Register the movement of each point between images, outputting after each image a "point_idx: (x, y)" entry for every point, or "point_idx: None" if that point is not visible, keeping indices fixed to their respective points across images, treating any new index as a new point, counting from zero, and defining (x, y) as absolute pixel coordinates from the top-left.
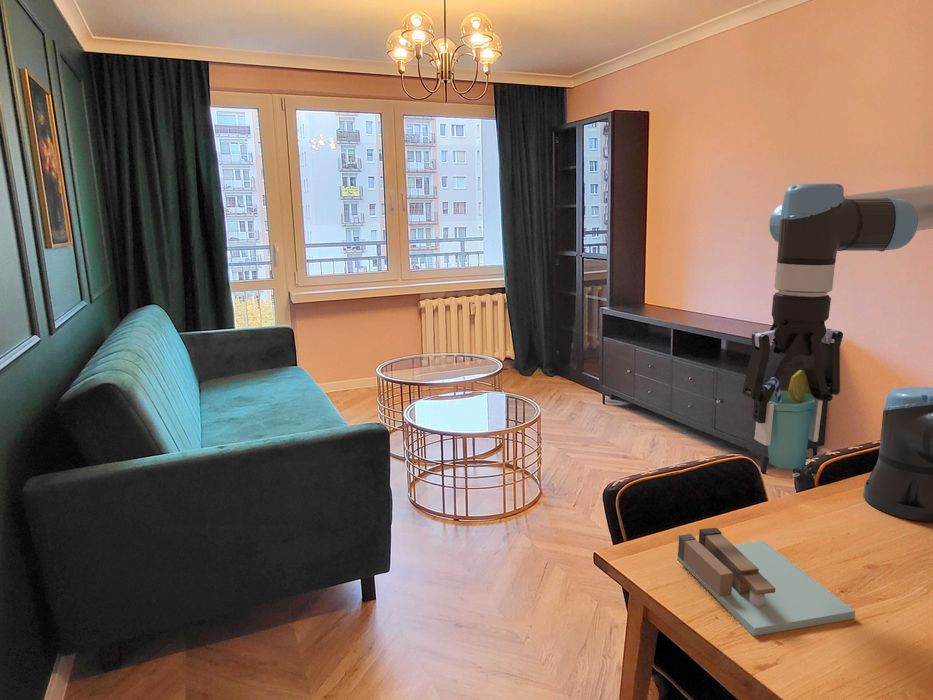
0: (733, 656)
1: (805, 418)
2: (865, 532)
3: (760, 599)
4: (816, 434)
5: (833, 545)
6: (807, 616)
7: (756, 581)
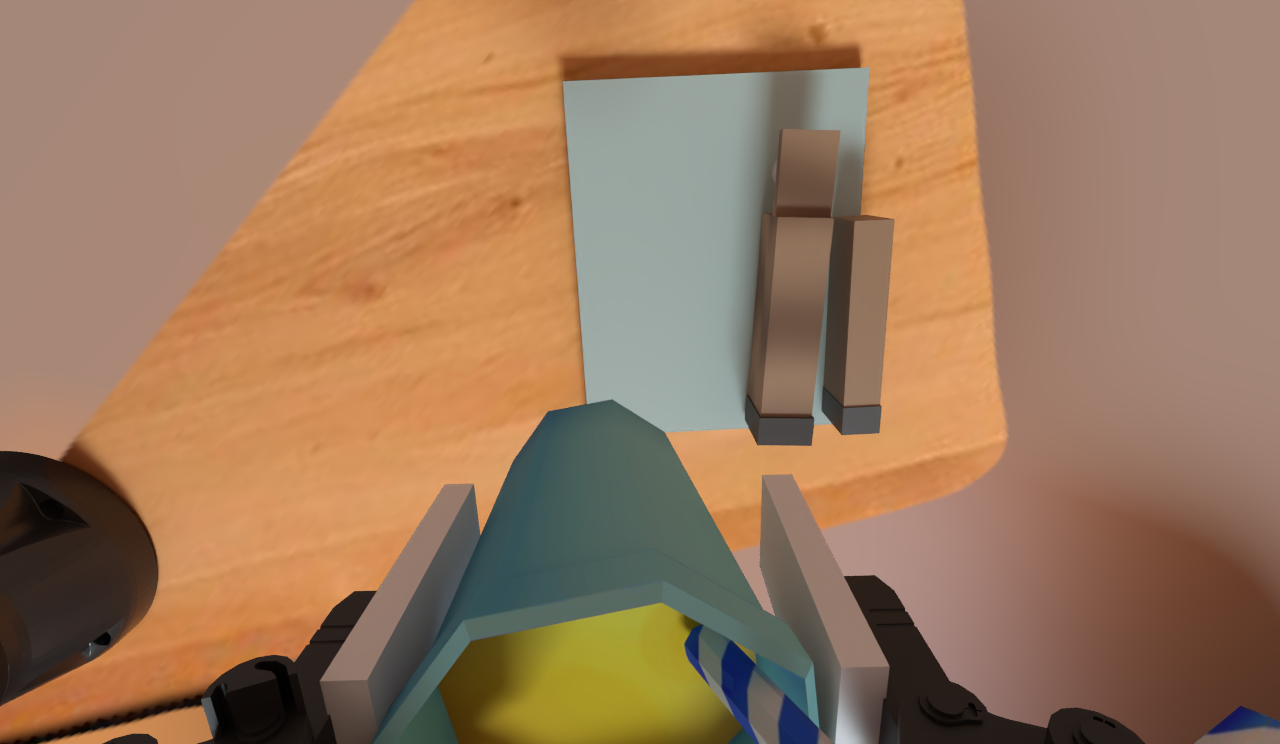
0: (957, 7)
1: (555, 537)
2: (265, 444)
3: None
4: (446, 505)
5: (395, 402)
6: (702, 85)
7: (812, 172)
